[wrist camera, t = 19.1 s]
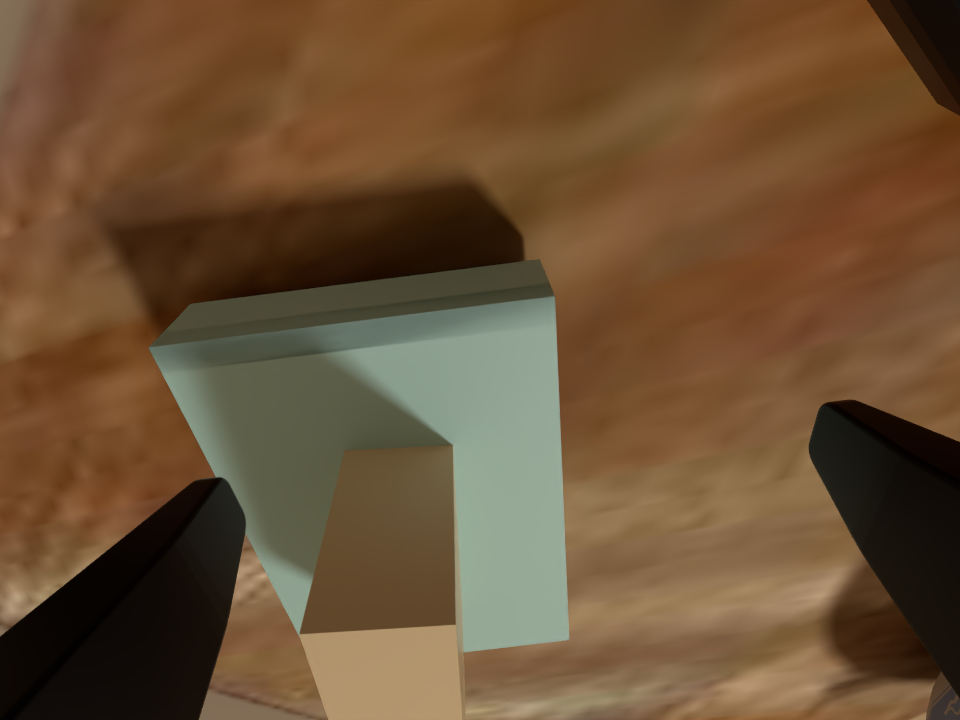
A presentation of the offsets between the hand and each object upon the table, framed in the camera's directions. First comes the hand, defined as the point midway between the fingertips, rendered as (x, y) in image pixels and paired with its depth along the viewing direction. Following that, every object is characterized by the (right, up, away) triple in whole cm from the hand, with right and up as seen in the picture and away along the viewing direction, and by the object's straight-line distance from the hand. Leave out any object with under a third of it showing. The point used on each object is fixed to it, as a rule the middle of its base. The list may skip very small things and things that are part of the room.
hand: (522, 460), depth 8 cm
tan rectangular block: (-4, -6, +14) cm, 16 cm away
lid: (-4, -4, +16) cm, 17 cm away
